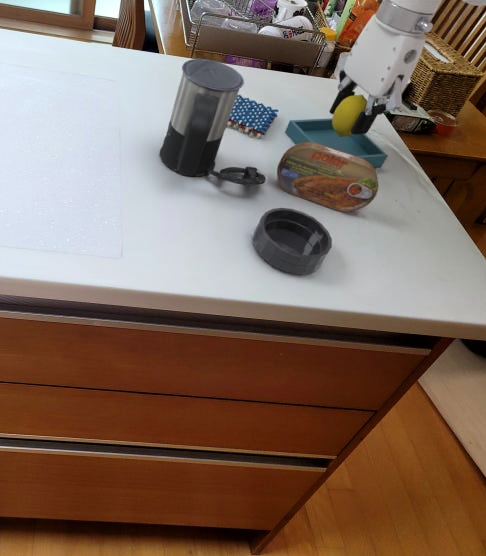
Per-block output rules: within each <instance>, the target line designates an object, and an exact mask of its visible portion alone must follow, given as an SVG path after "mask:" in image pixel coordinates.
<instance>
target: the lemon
mask: <svg viewBox="0 0 486 556" xmlns="http://www.w3.org/2000/svg"><path fill="white" fill-rule="evenodd" d="M367 101H368V99H366V98H365V96H364V95H363V94H354V95H352V96H349V97H347V98H345V99H344V100H343V101H342V102H341V103H340V104H339V105H338V107H337V108H336V110H335V112H334V114H332V117H331V118H332V125H333V128H334V130H335V131H336V132H337V133H338V136H339V137H344V136H352V135H353V134H352V133H351V129H352V128H353V126H354V124H355V122H356V120H357V118H358V116H359V115H360V113H361V112H365V109H366V105H367Z"/></svg>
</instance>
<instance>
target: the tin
mask: <svg viewBox="0 0 486 556" xmlns="http://www.w3.org/2000/svg"><path fill="white" fill-rule="evenodd" d="M276 177H277V180H278V181H277V182H278V183H279V185H280V186H281V188H282V189H283V190H284V191H285V192H286V193H289V194H290V195H293V196H296V197H298V198H301V199H304V200H307V201H310V202H313V203H316V204H319V205H321V206H324V207H327V208H330V209H332V210H335V211H338V212H346V213H348V212H356V211H358V210H362V209H364V208H365V207H367V206H368V205H370V203H372V202H373V201H374V199H375V198H376V196H377V194H378V191H379V179H378V174H377V171H376V168H374V167H373V166H372V165H371V164H370V163H369V162H367V161H366V160H364V159H361V158H359V157H356V156H353V155H349V154H347V153H343V152H340V151H337V150H334V149H331V148H328V147H325V146H322V145H319V144H316V143H312V142H304V143H299V144H294V145H292V146H291V147H289V148H288V149H287V150H286V151H285V152H284V153H283V154H282V156H281V158H280V160H279V162H278V165H277V168H276Z"/></svg>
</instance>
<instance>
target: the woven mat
mask: <svg viewBox="0 0 486 556" xmlns="http://www.w3.org/2000/svg"><path fill="white" fill-rule="evenodd" d="M278 113H279V109H277V108H276V109H275V108H274V107H272V106H268V105H266V106H265V104H264V103H263V102H259V101H256V100H252V99H250V97H246V96H243V95H242V94H238V95H237V98H236V100H235V103H234V106H233V109H232V112H231V115H230V117H229V120H228V123H227V126H230V127H231V126H232V129H234V130H236V129H237V128H238V132H240V133H241V132H243V131H244V133H247V134H248V133H249V138H254V136H255V134H256V137H257V139H260V138H261V137H262V136H265V135H266V133H267V131H268V130H269V128H270V127H271V125H272V124H273V122H274V121H275V119H276V118H277V117H278Z"/></svg>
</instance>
